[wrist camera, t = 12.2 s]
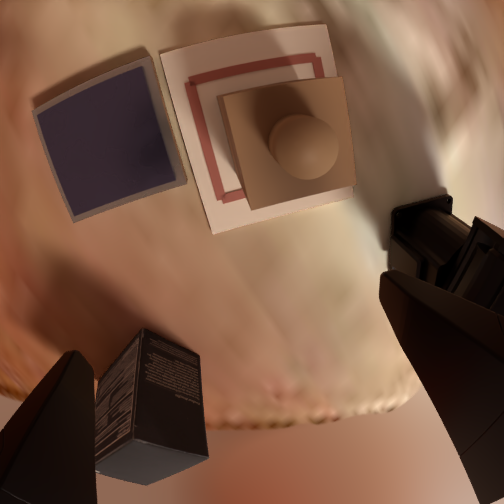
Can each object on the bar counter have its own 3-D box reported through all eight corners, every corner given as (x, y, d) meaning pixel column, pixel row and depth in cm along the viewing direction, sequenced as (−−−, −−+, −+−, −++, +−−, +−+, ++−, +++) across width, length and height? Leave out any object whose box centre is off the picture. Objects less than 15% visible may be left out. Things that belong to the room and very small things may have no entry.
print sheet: (324, 25, 14) (326, 23, 14) (351, 195, 20) (354, 197, 20) (160, 55, 14) (159, 54, 14) (212, 232, 20) (212, 235, 20)
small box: (149, 403, 29) (147, 488, 20) (97, 380, 26) (82, 469, 17) (204, 356, 26) (214, 462, 17) (142, 325, 23) (128, 439, 14)
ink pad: (152, 57, 14) (148, 54, 13) (187, 179, 18) (186, 185, 17) (39, 109, 14) (28, 111, 13) (78, 216, 18) (71, 225, 17)
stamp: (299, 79, 16) (359, 76, 9) (313, 155, 18) (372, 195, 12) (216, 95, 16) (225, 96, 9) (236, 174, 18) (257, 225, 12)
